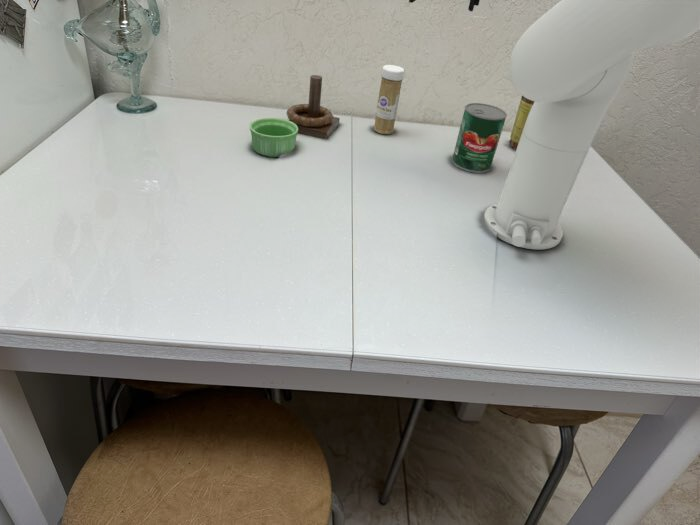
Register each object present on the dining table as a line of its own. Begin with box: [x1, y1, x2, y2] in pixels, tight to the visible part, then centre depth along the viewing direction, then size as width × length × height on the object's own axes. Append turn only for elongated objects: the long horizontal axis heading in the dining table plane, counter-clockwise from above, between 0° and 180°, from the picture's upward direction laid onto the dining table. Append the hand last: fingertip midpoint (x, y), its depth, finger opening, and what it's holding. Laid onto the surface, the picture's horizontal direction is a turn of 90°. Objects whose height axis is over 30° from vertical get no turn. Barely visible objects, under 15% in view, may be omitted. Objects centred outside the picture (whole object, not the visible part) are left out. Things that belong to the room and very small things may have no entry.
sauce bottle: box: [509, 95, 535, 150], centre depth 103 cm, size 6×6×20 cm
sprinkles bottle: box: [373, 64, 405, 135], centre depth 103 cm, size 5×5×14 cm
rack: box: [288, 74, 340, 140], centre depth 101 cm, size 9×9×10 cm
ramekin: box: [249, 117, 299, 158], centre depth 93 cm, size 9×9×4 cm
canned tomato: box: [451, 102, 508, 174], centre depth 95 cm, size 8×8×11 cm
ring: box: [286, 103, 334, 127], centre depth 103 cm, size 10×10×2 cm
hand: (441, 5), depth 80 cm, fingers open, 9 cm apart
